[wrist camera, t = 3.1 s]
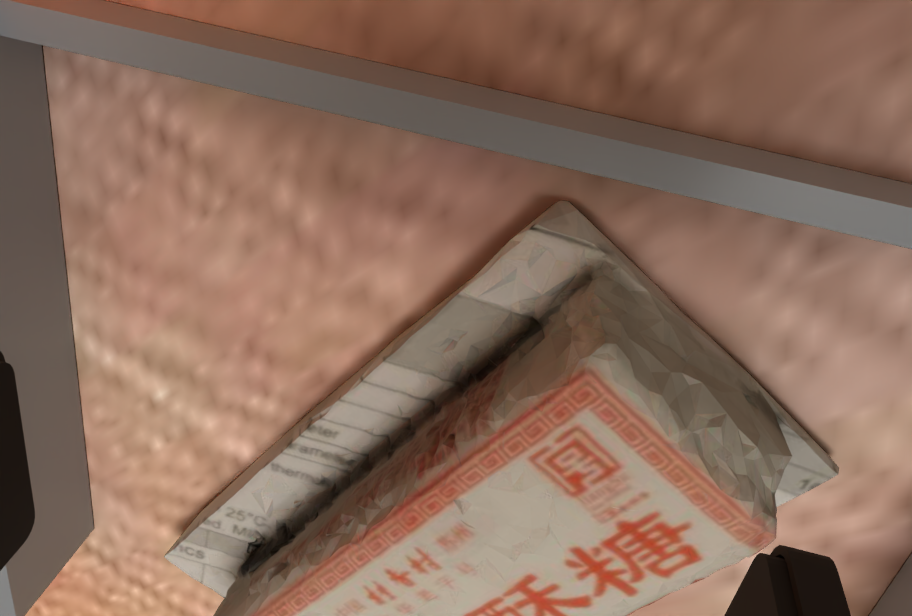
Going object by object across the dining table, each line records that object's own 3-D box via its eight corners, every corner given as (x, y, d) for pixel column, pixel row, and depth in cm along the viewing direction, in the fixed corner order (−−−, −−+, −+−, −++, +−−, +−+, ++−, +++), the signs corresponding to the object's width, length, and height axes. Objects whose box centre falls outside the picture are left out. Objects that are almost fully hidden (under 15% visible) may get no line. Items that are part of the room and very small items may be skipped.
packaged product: (537, 272, 15) (880, 592, 17) (561, 175, 19) (834, 442, 21) (101, 641, 23) (360, 819, 26) (182, 521, 28) (400, 683, 30)
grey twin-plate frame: (2, -23, 18) (-143, 9, 15) (1172, 243, 16) (1309, 351, 13) (72, 522, 28) (-7, 617, 25) (815, 738, 26) (839, 874, 22)
